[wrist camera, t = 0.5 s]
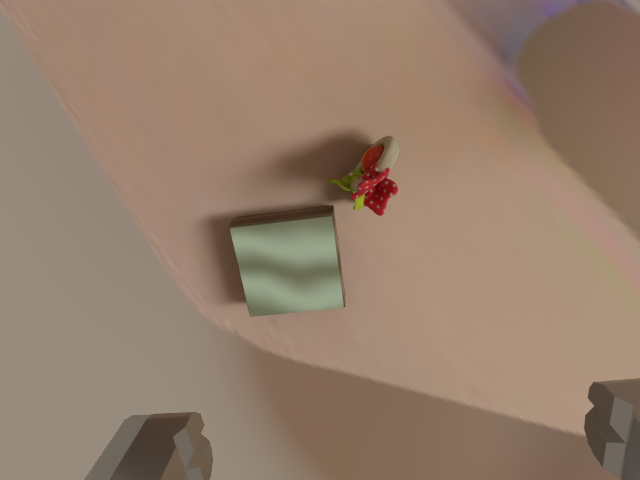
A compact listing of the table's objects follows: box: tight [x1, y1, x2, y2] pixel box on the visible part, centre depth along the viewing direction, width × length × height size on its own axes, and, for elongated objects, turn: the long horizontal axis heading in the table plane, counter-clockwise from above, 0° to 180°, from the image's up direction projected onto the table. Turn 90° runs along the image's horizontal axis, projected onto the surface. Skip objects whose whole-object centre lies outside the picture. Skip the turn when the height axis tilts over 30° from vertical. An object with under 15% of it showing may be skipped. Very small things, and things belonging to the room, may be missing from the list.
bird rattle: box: [328, 136, 400, 216], centre depth 42 cm, size 6×11×9 cm
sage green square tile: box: [229, 206, 345, 317], centre depth 49 cm, size 13×13×4 cm
